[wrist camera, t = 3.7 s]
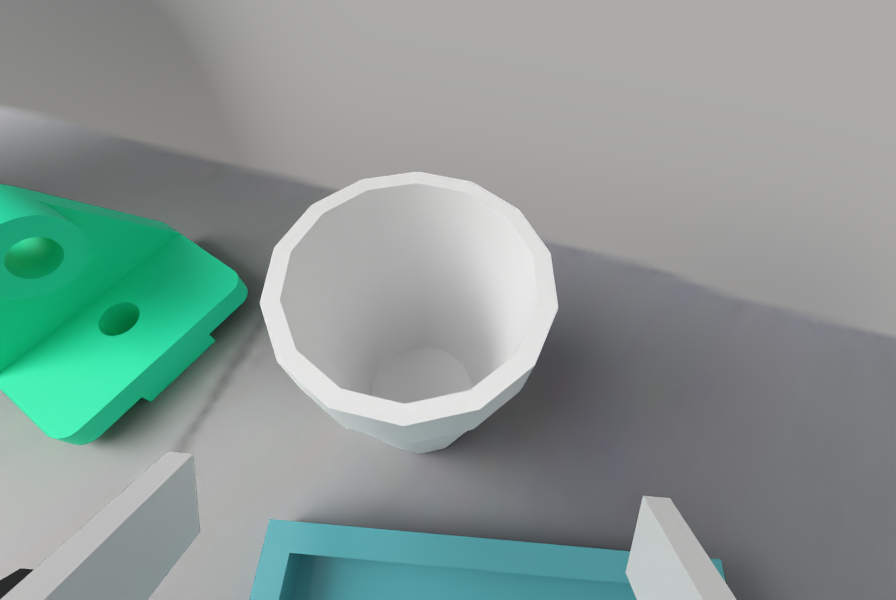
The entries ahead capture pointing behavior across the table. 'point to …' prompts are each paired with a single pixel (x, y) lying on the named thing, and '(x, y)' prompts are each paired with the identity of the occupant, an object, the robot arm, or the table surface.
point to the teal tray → (430, 567)
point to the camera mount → (99, 310)
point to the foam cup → (410, 306)
